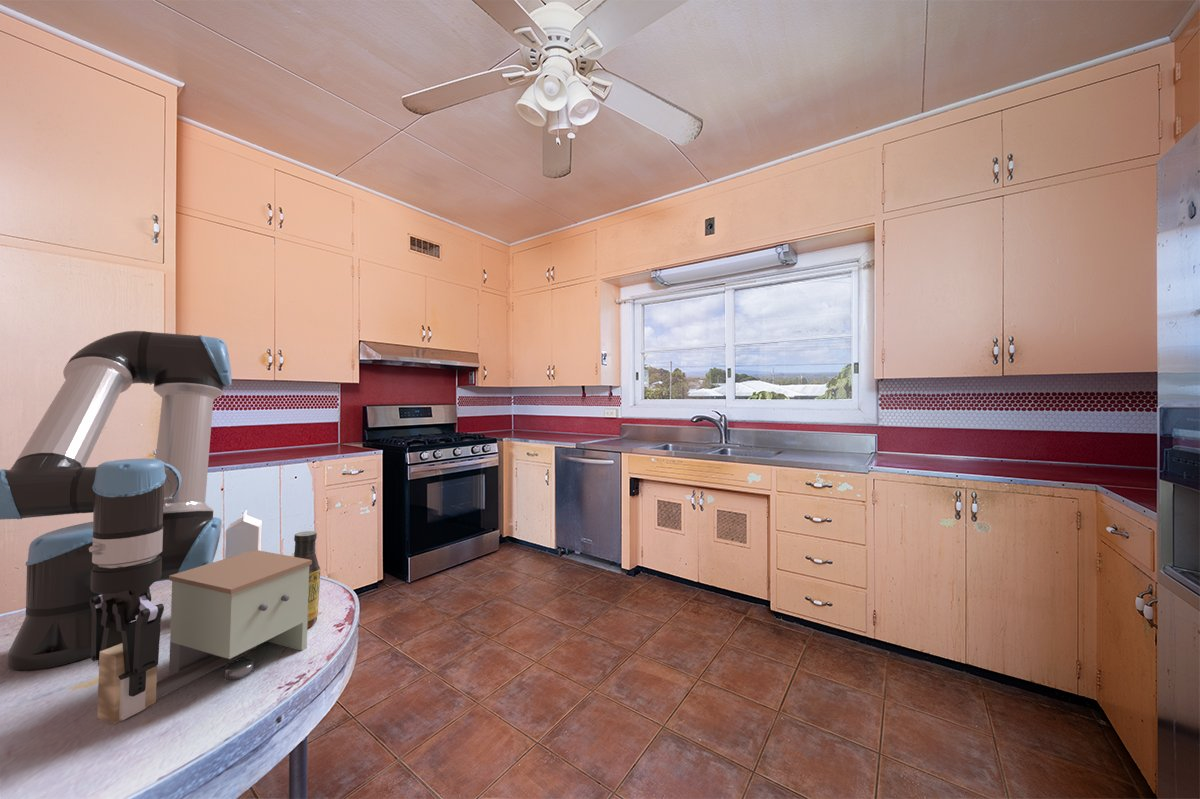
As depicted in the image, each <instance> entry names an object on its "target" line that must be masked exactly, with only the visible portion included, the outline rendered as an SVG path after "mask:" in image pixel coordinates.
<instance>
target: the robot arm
mask: <svg viewBox="0 0 1200 799" xmlns="http://www.w3.org/2000/svg"><path fill="white" fill-rule="evenodd" d="M63 377H64V382H63V384H62V385H61V387H60V388H59V390H58V392H57V393H56V395H55V397H54V398H53V400H52V401H51V403H50V405H49V406H48V408H47V409H46V412H44V415H43V416H42V418H41V420H40V421H39V423H38V424H37V426H36V427H35V430H34V431H33V432H32V434H31V436H30V437H29V439H28V441H27V442H26V444H25V446H24V447H23V449H22V450H21V452H20V454H19V455H18V456H17V459H16V460H15V461H14V463H13V465H12V467H11V468H10V469H5V468H4V469H3V468H2V469H0V521H1V520H22V519H31V518H41V517H50V516H51V517H52V516H63V515H72V514H73V515H74V514H75V515H76V514H90V513H91V514H92V513H93V515H92V516H93V518H92V520H93V521H88V522H83V523H78V524H74V525H73V524H72V525H70V526H66V527H61V528H58V529H54V530H52V531H49V532H45V533H43V534H41V535H39V536H37V537H36V538H34V539H33V540H32V541H31V542H30V544H29V547H28V553H27V561H26V562H25V566H26V589H25V590H26V591H25V595H26V596H25V617H24V620H23V622H22V624H21V625H20V628H19V629H18V632H17V634H16V636H15V638H14V640H13V642H12V644H11V647H10V648H9V650H8V655H7V656H8V658H7V666H8V667H9V668H10V669H12V670H17V671H33V670H42V669H47V668H48V669H49V668H54V667H58V666H59V667H60V666H63V665H68V664H71V663H75V662H79V661H81V660H85V659H88V658H90V659H91V661H92V662H96V661H98V663H97V665H98V667H99V655H100V651H103V650H105V649H108V648H111V647H113V646H116V645H118V644H121V643H122V645H123V656H124V667H125V673H124V674H122V675H119V676H118V677H119V679H120V706H119V720H120V721H124V720H127V719H128V718H130V717H132V716H134V715H137V714H138V713H140V712H142V711H144V710H145V709H146V708H145V698H146V671H147V670H149V669H151V668H153V667H156V666H157V667H158V666H159V659H160V658H159V656H160V642H161V641H160V638H161V624H162V622H161V621H162V616H163V615H164V610H165V606H164V604H163V603H159V604H156V605H154V604H153V602H152V594H151V589H150V587H151V586H152V585H153V584H154V583H156V582H157V583H158V582H163V581H164V582H165V581H170V580H169V576H170V575H173V574H177V573H180V572H183V571H187V570H190V569H193V568H197V567H200V566H203V565H207V564H210V563H213V561H214V559H215V557H216V553H217V551H218V550H217V549H218V546H219V542H220V539H221V533H222V532H221V531H222V519H221V518H220V517H214V509H213V508H212V507H211V506H209V505H207V503H206V497H207V482H208V472H209V471H208V470H209V458H210V446H211V444H210V443H211V435H212V434H211V432H212V420H213V408H214V400H216V399H217V398H219V397H220V396H222V395H223V390H224V389H223V388H227V387H230V386H232V367H231V362H230V355H229V351H228V346H227V343H226V342H225V341H224V340H223V339H222V338H219V337H211V336H205V335H202V334H198V335H193V334H183V333H182V334H180V333H168V332H167V333H166V332H165V333H164V332H156V331H154V332H153V331H146V330H145V331H144V330H128V331H122V332H121V331H120V332H118V333H114V334H109V335H107V336H103V337H101V338H99V339H96V340H94V341H93V342H91V343H89V344H87V345H85V346H84V347H83V348H81V349H79V350H78V351H77V352H76V353H75V354H73V355H72V356H71V357H70V359H69V360H68V361H67V363H66V364H65V366H64V368H63ZM132 384H145V385H146V384H148V385H152V384H153V391H154V392H155V393H156V395H158V396H160V397H161V407H160V415H159V423H158V424H159V425H158V433H157V435H158V436H157V443H156V452H155V458H126V459H125V458H124V459H116V460H109V461H108V460H107V461H104V462H102V463H100V464H98V465H97V466H86V465H87V463H88V461H89V459H90V457H91V455H92V453H93V451H94V449H95V446H96V444H97V442H98V440H99V438H100V435H101V434H102V433H103V432H102V431H103V429H104V428H105V425H106V424H107V421H108V419H109V417H110V415H111V413H112V411H113V408H114V406H115V404H116V403H117V400H118V399H119V396H120V394H122V393H123V392H126V391H128V390H129V389H130V387H131V386H132Z"/></svg>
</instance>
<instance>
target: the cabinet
mask: <svg viewBox="0 0 1200 799" xmlns="http://www.w3.org/2000/svg"><path fill="white" fill-rule="evenodd" d="M311 564H312V560H309V559H303V558H298V557H294V556H291V555H286V554H280V553H274V552H268V551H263V550H261V551H259V550H253V551H250V552H247V553H243V554H240V555H237V556H233V557H230V558H227V559H225V558H224V559H221V560H217V561H214V562H212V563H210V564H207V565H203V566H200V567H197V568H193V569H190V570H187V571H183V572H180V573H177V574H173V575H170V576H169V580H168V581H171V600H170V601H171V604H170V606H171V608H170V630H169V631H170V636H169V641H170V642H169V663H168V664H169V665H168V673H169V674H170V675H172V674H174V673H177V672H179V671H181V670H183V669H185V668H187V667H189V666H191V665H193V664H195V663H197V662H200V661H202V660H204V659H206V658H208V657H210V656H212V655H217V656H221V657H224V658H227V659H231V658H233V657H235V656H237V655H239V654H241V653H243V652H245V651H247V650H249V649H251V648H253V647H255V646H256V647H257V646H259V645H260V644H263V643H265V642H268V643H272V644H275V645H280V646H283V647H287V648H290V649H294V650H298V651H300V652H301V651H304V650H306V649H307V648H308V647H307V646H308V645H307V644H308V628H307V621H308V590H309V565H311Z"/></svg>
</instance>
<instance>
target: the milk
mask: <svg viewBox="0 0 1200 799" xmlns="http://www.w3.org/2000/svg"><path fill="white" fill-rule="evenodd" d="M262 527H263V521H262V519H258V518H256V517H254V516H250V515H248V509H245V511H244V512H243V513H242V517H241V518H239V519H236V520H235V521H233V522H230V524H229V526H228V527H227V529H226V530H225V548H224V549H225V551H224V552H225V554H224V559H227V558H230V557H233V556H237V555H240V554H243V553H247V552H250V551H253V550H259V551H262V535H263V534H262V532H263V531H262V530H263V528H262Z"/></svg>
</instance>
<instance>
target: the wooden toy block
mask: <svg viewBox="0 0 1200 799" xmlns="http://www.w3.org/2000/svg"><path fill="white" fill-rule="evenodd" d="M256 649H257V646H255V647H253V648H251V649H249V650H247V651H245V652H243V653H241V654H239V655H237V656H235V657H233V658H231V659H227V658H224V657H221V656H217V655H212V656H210V657H208V658H206V659H204V660H202V661H200V662H197V663H195V664H193V665H191V666H189V667H187V668H185V669H183V670H181V671H179V672H177V673H174V674H170V675H168V676H166V677H164V678H162V679H160V680H157V679H158V665H157V666H156V667H153V668H151V669H149V670H147V671H146V698H145V709H146V708H148V707H150V706H151V705H153V704H155V703H156V702H157V700H158V699H160V698H162V697H164V696H166V695H168V694H170V693H172V692H173V691H176V690H178V689H180V688H181V687H184V686H185V685H187V684H189V683H191V682H193V681H195V680H197V679H199V678H201V677H203V676H206V675H207V674H210V673H211V672H214V671H215V670H217V669H219V668H221V667H223V666H225V665H228V664H230V663H232V662H234V661H236V660H238V659H239V658H241V657H243V656H245V655H247V654H249V653H251V652H253V651H255V650H256ZM124 673H125V667H124V656H123V645H122V643H121V644H118V645H116V646H113V647H111V648H108V649H105V650H103V651H100V655H99V666H98V685H97V686H98V687H97V689H98V690H97V693H98V694H97V714H96V715H97V716H96V717H97V718H98V719H101V720H103V721H105V722H108V723H110V724H116V723H118V722H120V721H121V720H119V706H120V679H119V677H118V676H119V675H122V674H124Z"/></svg>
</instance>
